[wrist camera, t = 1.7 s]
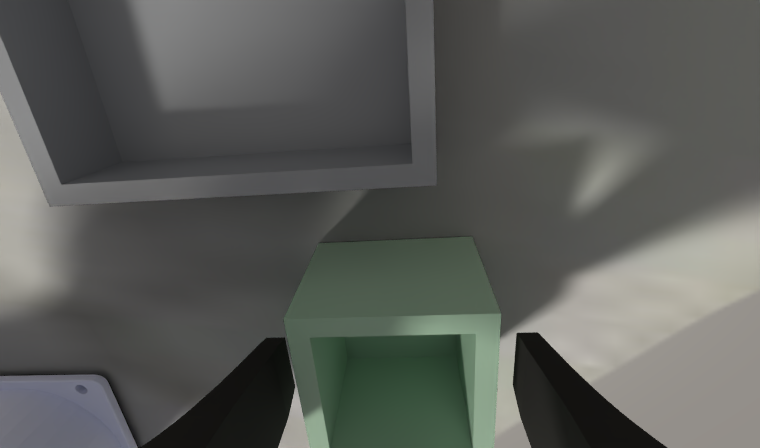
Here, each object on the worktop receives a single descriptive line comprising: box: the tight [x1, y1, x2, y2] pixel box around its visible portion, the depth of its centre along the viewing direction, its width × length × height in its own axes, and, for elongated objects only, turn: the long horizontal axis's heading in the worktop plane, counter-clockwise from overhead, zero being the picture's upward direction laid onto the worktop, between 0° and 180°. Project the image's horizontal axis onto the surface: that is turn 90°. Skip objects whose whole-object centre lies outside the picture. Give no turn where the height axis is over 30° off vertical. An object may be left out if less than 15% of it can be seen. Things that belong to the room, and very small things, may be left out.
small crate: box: [283, 236, 501, 448], centre depth 13 cm, size 6×6×4 cm
